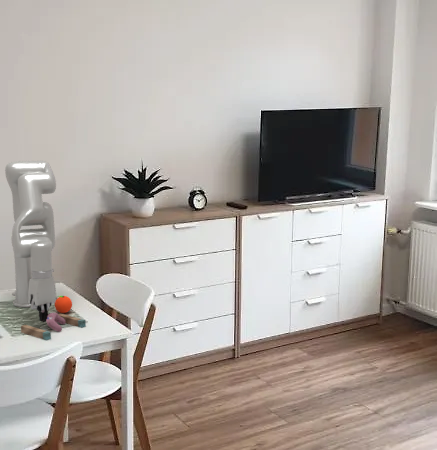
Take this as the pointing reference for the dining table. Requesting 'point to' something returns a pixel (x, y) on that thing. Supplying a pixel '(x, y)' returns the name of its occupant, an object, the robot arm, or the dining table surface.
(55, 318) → the video game controller
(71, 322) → the channel
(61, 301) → the clementine
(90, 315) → the dining table surface
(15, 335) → the dining table surface
